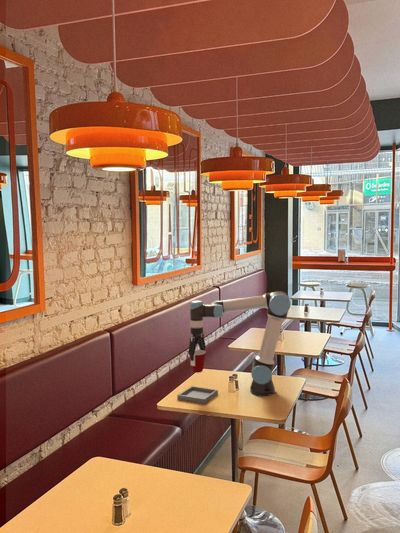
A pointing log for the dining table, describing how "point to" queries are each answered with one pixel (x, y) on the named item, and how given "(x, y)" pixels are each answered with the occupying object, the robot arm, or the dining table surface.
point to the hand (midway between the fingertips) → (197, 363)
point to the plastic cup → (199, 360)
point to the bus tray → (197, 394)
